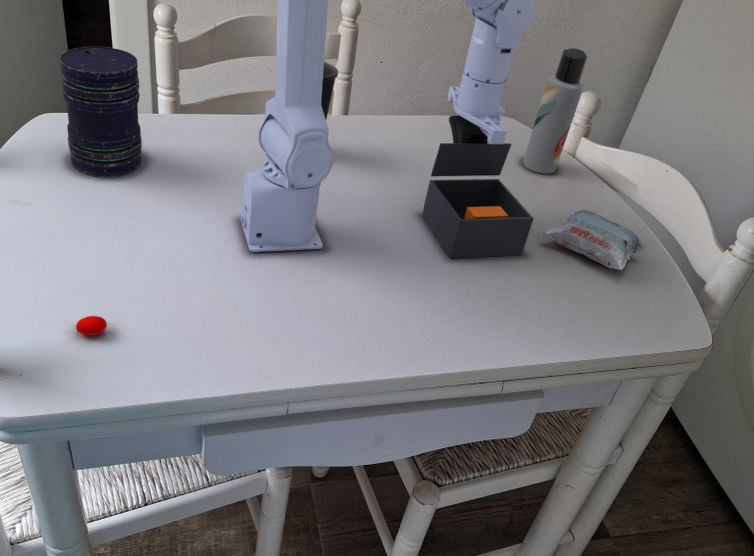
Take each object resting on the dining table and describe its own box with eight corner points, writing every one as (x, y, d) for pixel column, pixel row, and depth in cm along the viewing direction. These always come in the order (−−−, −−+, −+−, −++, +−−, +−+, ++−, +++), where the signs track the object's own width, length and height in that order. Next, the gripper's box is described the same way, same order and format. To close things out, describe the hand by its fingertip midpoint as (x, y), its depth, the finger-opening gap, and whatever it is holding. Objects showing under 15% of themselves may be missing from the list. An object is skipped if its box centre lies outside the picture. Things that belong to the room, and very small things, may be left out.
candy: (107, 326, 74) (106, 312, 73) (107, 339, 72) (105, 324, 71) (77, 327, 73) (75, 313, 72) (75, 340, 72) (73, 326, 70)
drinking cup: (326, 165, 111) (343, 36, 99) (278, 158, 110) (288, 29, 99) (328, 144, 117) (344, 21, 105) (282, 138, 116) (293, 13, 105)
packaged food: (616, 283, 94) (629, 253, 92) (538, 244, 100) (549, 214, 97) (640, 261, 100) (653, 232, 97) (565, 225, 106) (576, 196, 103)
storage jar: (156, 166, 103) (153, 65, 94) (95, 184, 96) (86, 78, 88) (116, 140, 108) (110, 42, 99) (56, 156, 101) (43, 52, 92)
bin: (421, 216, 102) (429, 179, 98) (488, 213, 105) (498, 178, 102) (450, 258, 94) (460, 220, 90) (521, 254, 97) (533, 218, 94)
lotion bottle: (559, 167, 122) (598, 52, 111) (548, 178, 118) (588, 60, 107) (529, 155, 124) (564, 42, 113) (517, 166, 120) (552, 49, 109)
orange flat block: (465, 248, 96) (474, 216, 93) (458, 238, 98) (467, 207, 95) (498, 246, 97) (508, 215, 94) (491, 236, 99) (500, 205, 96)
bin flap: (431, 176, 98) (430, 175, 98) (499, 175, 101) (499, 174, 101) (440, 144, 94) (440, 143, 95) (511, 144, 98) (510, 143, 98)
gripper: (537, 98, 89) (509, 193, 97) (488, 57, 100) (466, 145, 107) (487, 97, 86) (462, 194, 94) (443, 55, 97) (424, 145, 105)
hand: (461, 168), depth 101 cm, fingers closed
